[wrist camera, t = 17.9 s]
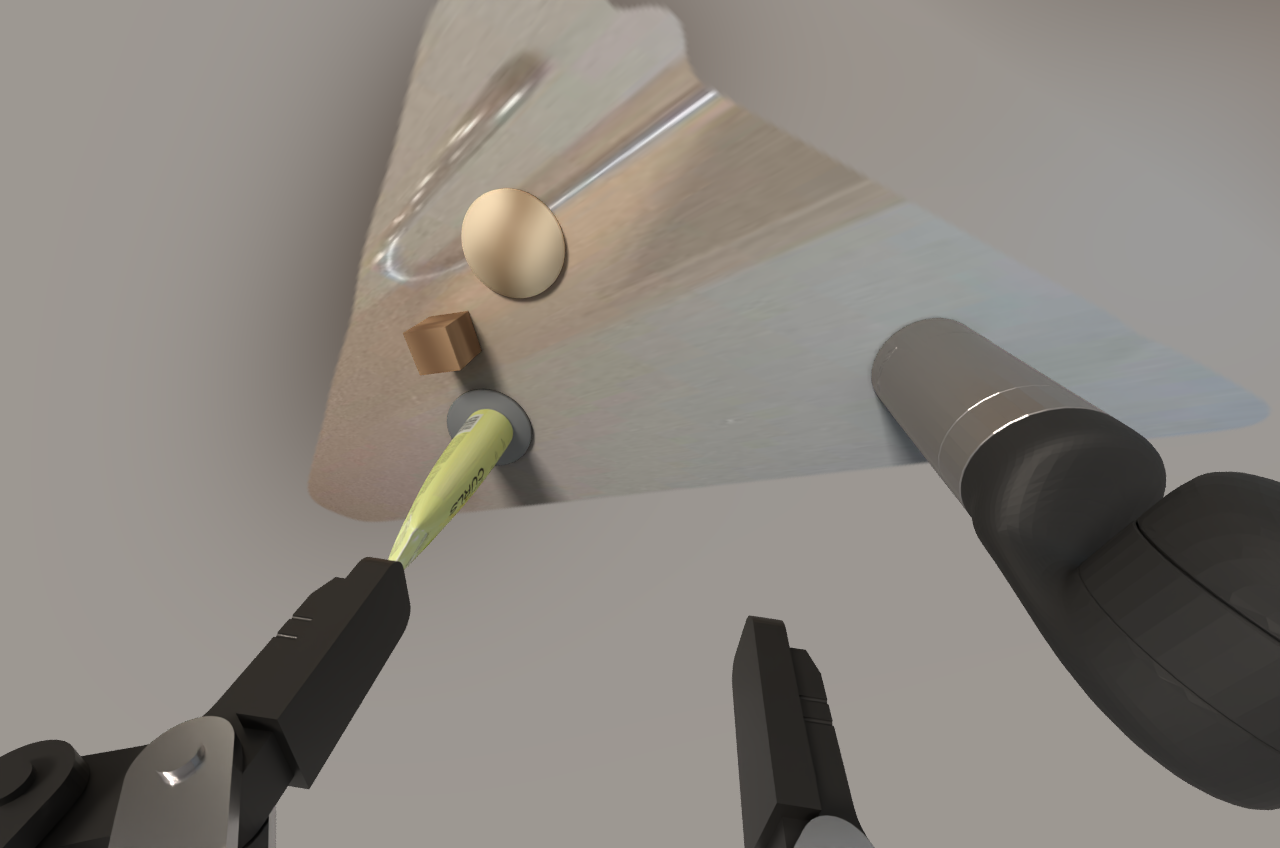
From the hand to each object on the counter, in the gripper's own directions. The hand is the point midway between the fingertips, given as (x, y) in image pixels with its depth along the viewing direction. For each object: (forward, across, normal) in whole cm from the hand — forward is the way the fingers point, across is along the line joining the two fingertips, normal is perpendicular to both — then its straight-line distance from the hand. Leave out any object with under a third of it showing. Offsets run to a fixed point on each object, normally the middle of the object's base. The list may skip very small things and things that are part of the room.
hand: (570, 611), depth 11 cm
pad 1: (+36, +13, -1) cm, 38 cm away
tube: (+36, +16, +18) cm, 43 cm away
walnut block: (+36, +19, +8) cm, 42 cm away
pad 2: (+36, +16, +18) cm, 43 cm away
